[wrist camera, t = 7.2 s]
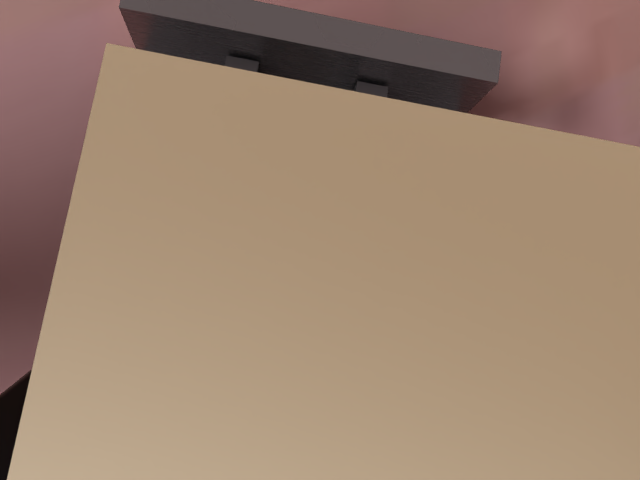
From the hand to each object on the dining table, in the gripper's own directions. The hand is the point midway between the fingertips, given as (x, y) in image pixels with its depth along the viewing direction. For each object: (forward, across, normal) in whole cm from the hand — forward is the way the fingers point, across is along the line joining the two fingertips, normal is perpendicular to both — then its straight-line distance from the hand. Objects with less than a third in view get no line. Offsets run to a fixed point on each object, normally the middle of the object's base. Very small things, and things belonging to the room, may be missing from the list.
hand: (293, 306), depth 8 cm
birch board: (+3, 0, +5) cm, 6 cm away
